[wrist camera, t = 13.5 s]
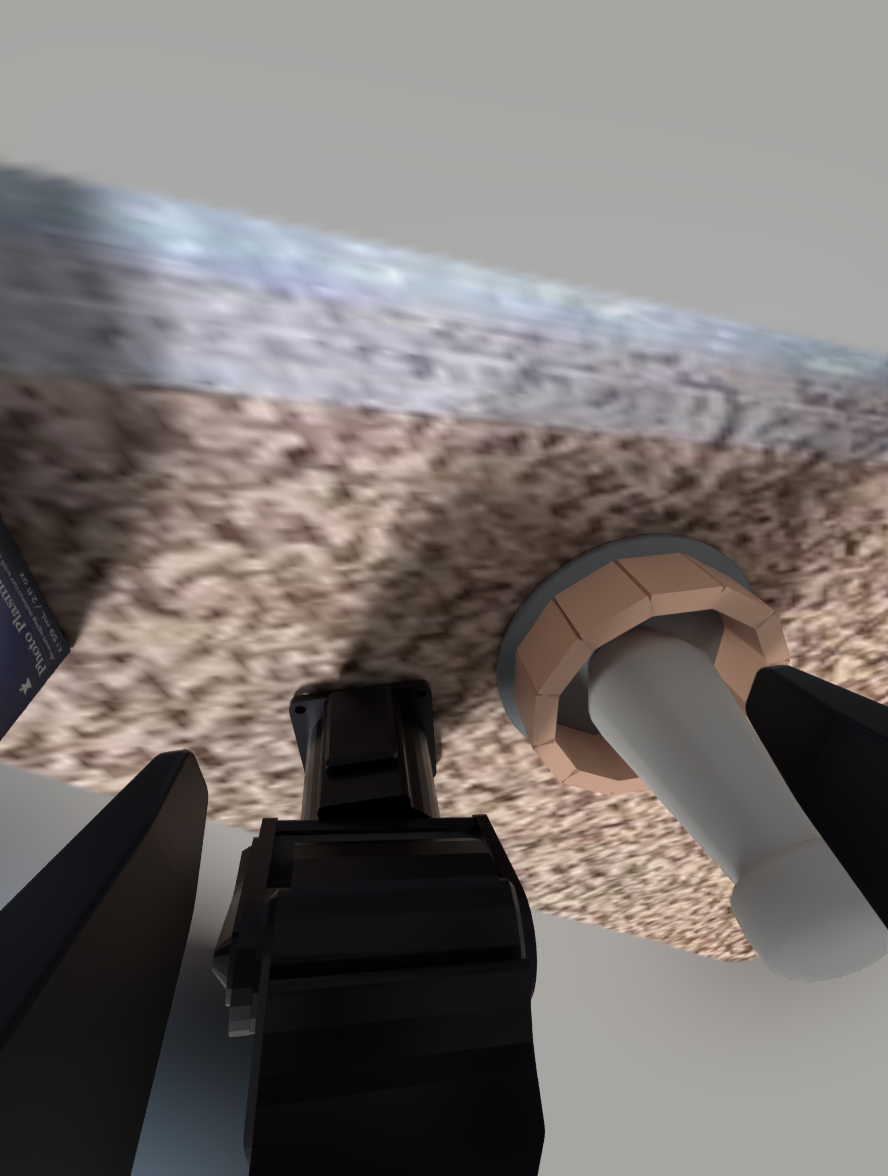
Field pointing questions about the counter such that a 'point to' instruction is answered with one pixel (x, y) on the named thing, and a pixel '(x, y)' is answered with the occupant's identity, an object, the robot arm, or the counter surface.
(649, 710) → the salt shaker
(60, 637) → the small box
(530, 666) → the socket
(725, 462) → the counter surface
